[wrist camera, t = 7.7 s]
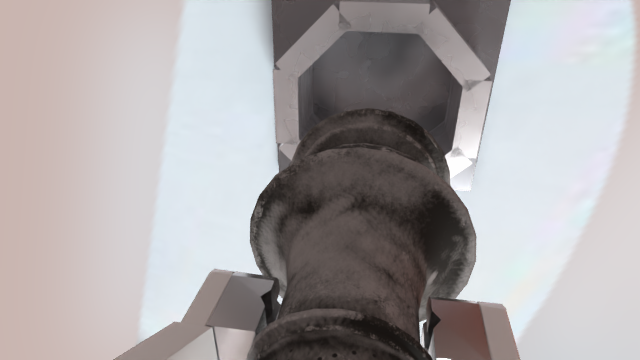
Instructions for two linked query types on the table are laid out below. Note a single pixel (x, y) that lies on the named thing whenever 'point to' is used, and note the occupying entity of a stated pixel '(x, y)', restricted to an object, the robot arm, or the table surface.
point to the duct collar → (388, 68)
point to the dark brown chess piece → (360, 240)
